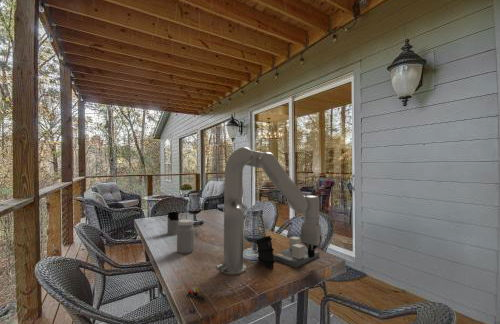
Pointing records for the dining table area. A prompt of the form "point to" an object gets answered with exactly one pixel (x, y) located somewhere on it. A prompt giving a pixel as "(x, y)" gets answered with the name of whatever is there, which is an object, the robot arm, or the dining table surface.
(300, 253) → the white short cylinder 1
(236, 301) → the dining table surface
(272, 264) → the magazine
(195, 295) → the composite cable
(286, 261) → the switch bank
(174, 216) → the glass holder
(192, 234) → the jar
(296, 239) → the beige cylinder
